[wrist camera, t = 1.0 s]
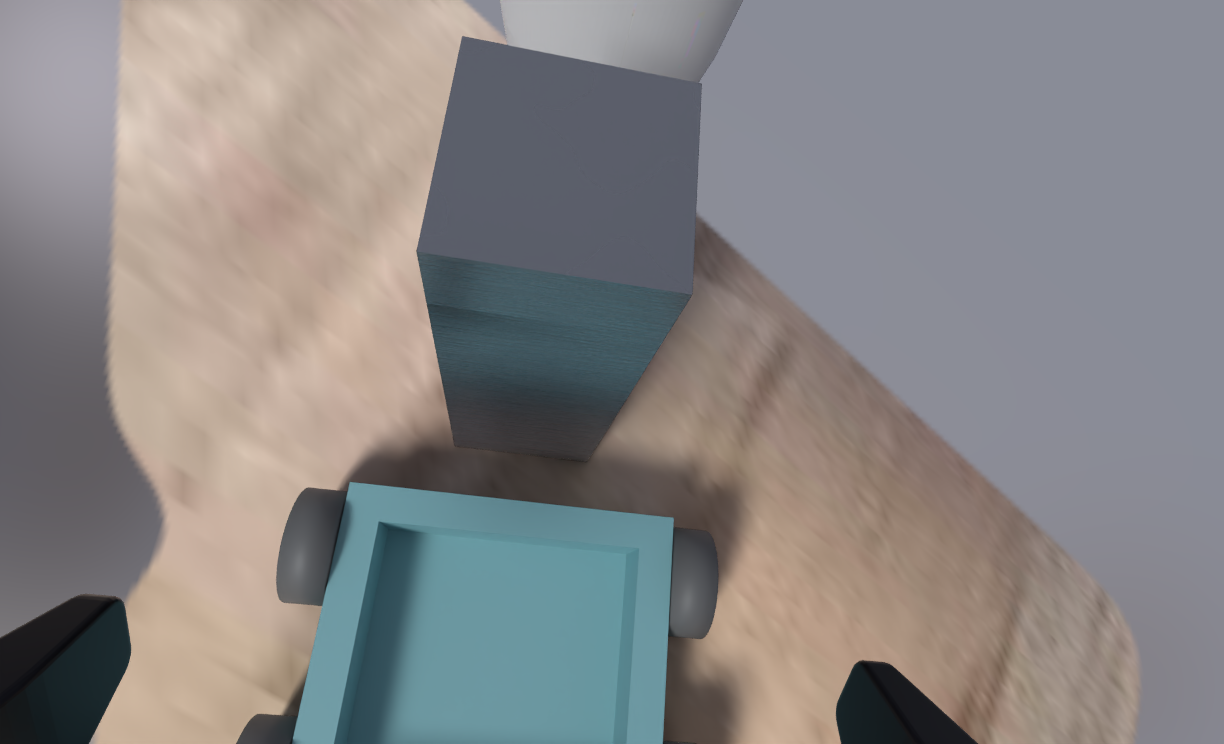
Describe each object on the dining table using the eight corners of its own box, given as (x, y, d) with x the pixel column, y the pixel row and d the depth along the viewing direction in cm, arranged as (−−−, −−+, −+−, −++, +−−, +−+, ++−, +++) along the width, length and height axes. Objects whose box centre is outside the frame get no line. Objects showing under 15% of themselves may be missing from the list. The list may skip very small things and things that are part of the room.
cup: (697, 79, 30) (791, -162, 21) (666, 230, 27) (759, 28, 18) (519, 25, 29) (533, -249, 20) (466, 174, 26) (455, -67, 17)
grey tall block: (586, 461, 23) (691, 294, 11) (454, 446, 23) (416, 252, 11) (598, 342, 25) (701, 83, 13) (475, 324, 24) (461, 35, 12)
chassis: (676, 863, 20) (710, 907, 17) (242, 845, 18) (194, 889, 15) (690, 532, 23) (719, 519, 20) (324, 492, 21) (298, 472, 19)
